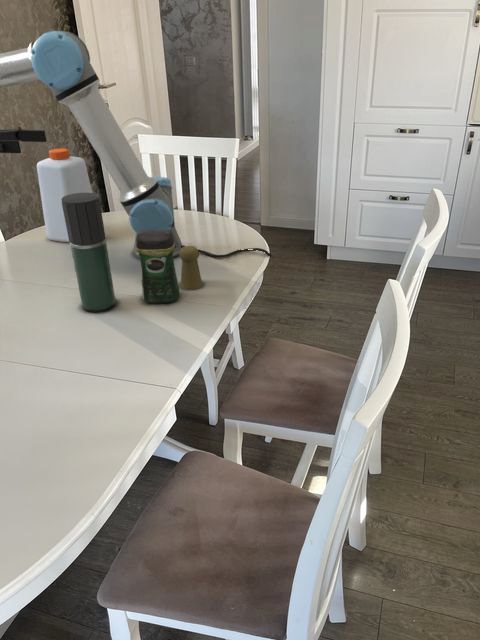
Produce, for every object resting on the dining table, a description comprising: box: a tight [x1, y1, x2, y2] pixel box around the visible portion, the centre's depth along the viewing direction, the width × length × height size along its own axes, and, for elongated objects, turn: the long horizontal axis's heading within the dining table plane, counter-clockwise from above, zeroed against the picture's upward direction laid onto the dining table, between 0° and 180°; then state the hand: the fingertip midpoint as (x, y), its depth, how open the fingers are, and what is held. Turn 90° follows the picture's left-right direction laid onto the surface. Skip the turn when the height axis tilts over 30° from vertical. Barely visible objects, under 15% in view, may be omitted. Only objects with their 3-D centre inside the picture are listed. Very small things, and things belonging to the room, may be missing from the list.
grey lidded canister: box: [61, 192, 106, 245], centre depth 129 cm, size 8×8×10 cm
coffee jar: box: [135, 229, 181, 304], centre depth 140 cm, size 10×8×19 cm
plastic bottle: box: [36, 148, 93, 244], centre depth 179 cm, size 15×15×28 cm
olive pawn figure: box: [178, 245, 203, 291], centre depth 149 cm, size 6×6×11 cm
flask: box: [69, 236, 117, 314], centre depth 135 cm, size 8×8×22 cm
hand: (32, 141), depth 133 cm, fingers open, 13 cm apart
